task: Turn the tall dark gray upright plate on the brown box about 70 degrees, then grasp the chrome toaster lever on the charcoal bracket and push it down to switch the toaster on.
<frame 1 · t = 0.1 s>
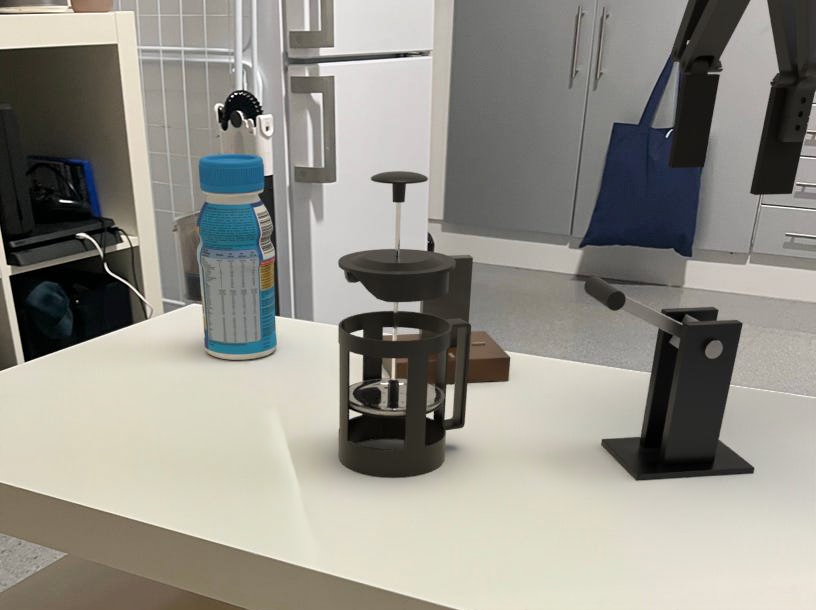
hand: (725, 180, 76), 22 cm above the table, tool pointing down, fingers open, 13 cm apart
toaster lever: (655, 318, 78), point 13 cm above the table, hinge at 25.0°
dark gray upright plate: (445, 301, 105), point 7 cm above the table, hinge at 0.0°
french press: (396, 469, 86), on the table
beverage bottle: (241, 352, 115), on the table
brown box: (441, 369, 109), on the table
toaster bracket: (672, 469, 86), on the table
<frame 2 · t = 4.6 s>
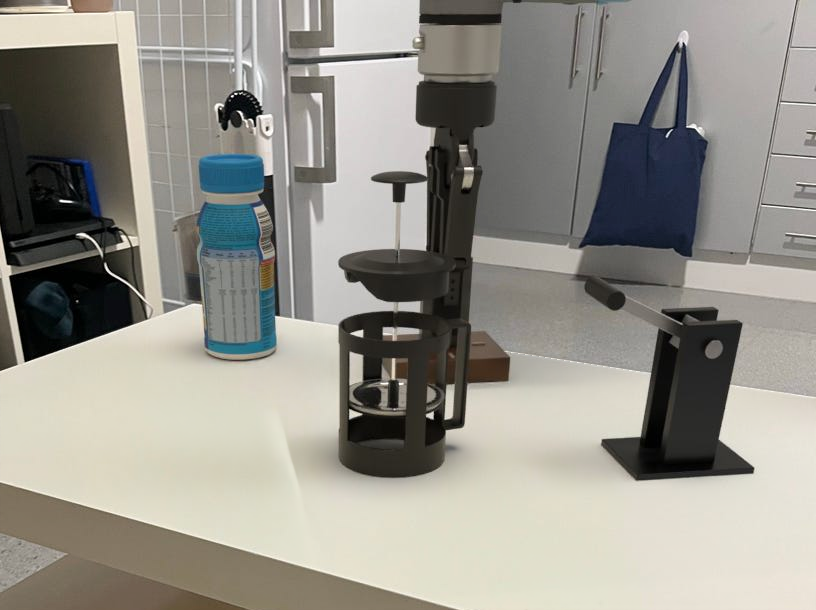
hand: (443, 332, 107), 4 cm above the table, tool pointing down, fingers closed on dark gray upright plate, 1 cm apart
dark gray upright plate: (445, 301, 105), point 7 cm above the table, hinge at 0.0°, touching gripper
everything else where it was.
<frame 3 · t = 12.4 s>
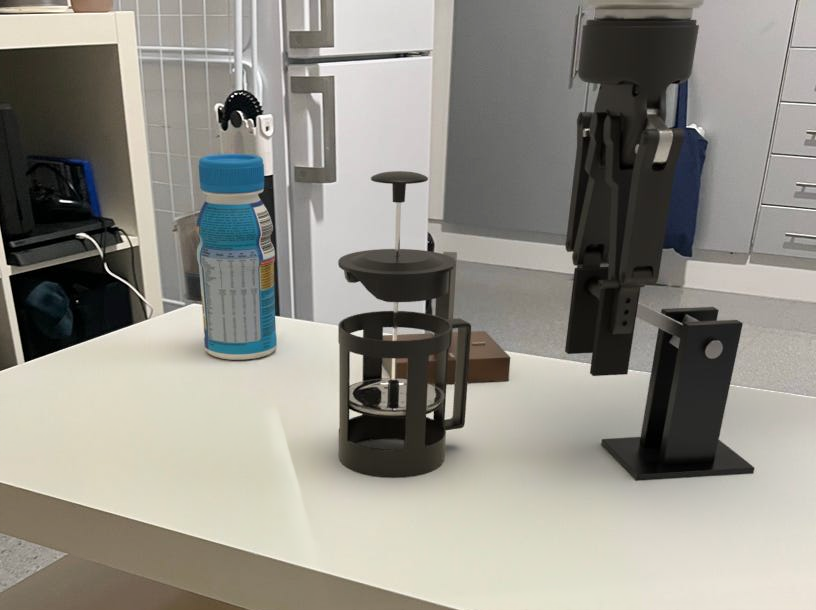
hand: (595, 361, 80), 10 cm above the table, tool pointing down, fingers closed on toaster lever, 5 cm apart
toaster lever: (655, 318, 78), point 13 cm above the table, hinge at 25.0°, touching gripper
dark gray upright plate: (445, 301, 105), point 7 cm above the table, hinge at 69.9°
everything else where it was.
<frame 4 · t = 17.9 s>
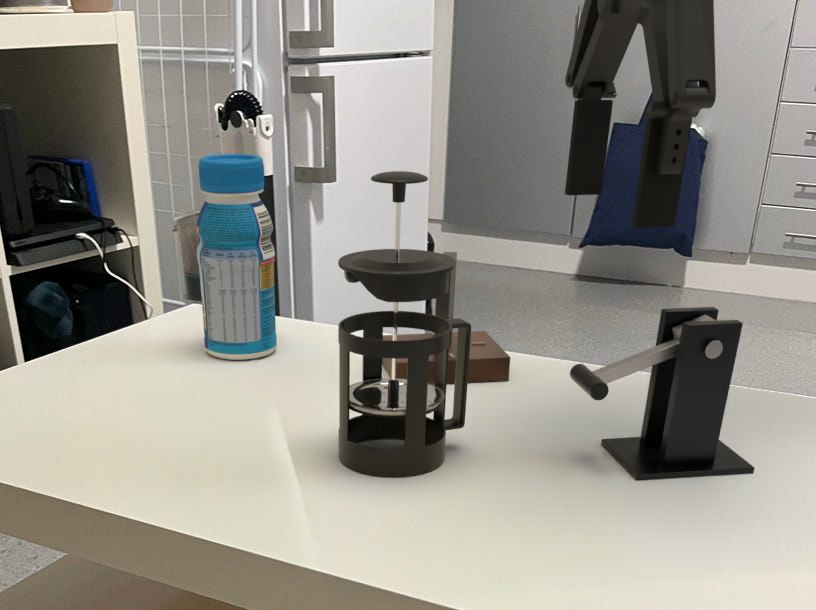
hand: (615, 209, 74), 21 cm above the table, tool pointing down, fingers open, 13 cm apart
toaster lever: (646, 358, 80), point 10 cm above the table, hinge at -19.7°
everything else where it was.
at the end: dark gray upright plate at +70° (first picture: +0°); toaster lever at -20° (first picture: +25°) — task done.
